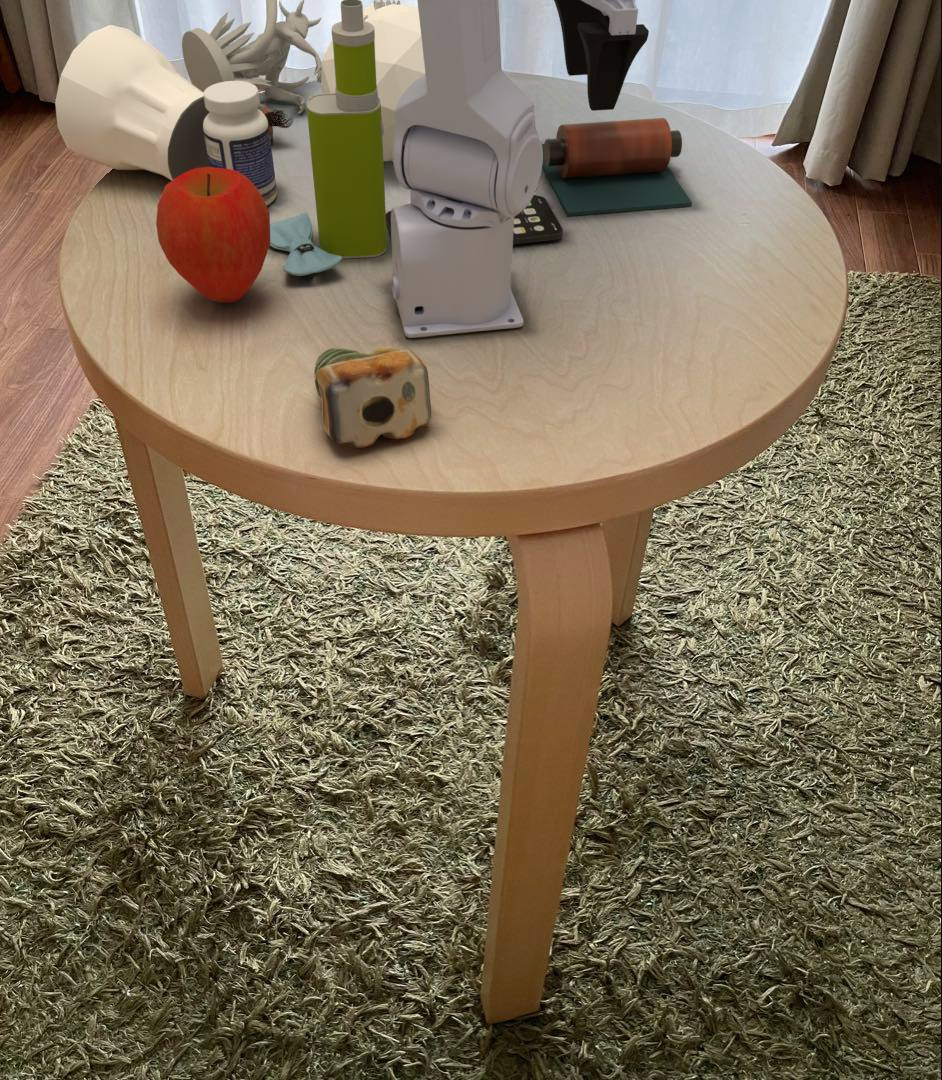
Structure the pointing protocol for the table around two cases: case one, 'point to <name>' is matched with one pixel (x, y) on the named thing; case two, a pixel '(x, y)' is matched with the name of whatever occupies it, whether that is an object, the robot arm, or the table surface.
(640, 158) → the rolling pin
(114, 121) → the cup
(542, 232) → the smartphone
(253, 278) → the apple
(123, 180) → the table surface
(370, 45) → the vape
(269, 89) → the demon figurine
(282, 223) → the bow tie
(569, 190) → the pastry mat
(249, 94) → the pill bottle
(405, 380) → the ornament
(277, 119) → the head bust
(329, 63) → the geodesic sphere
